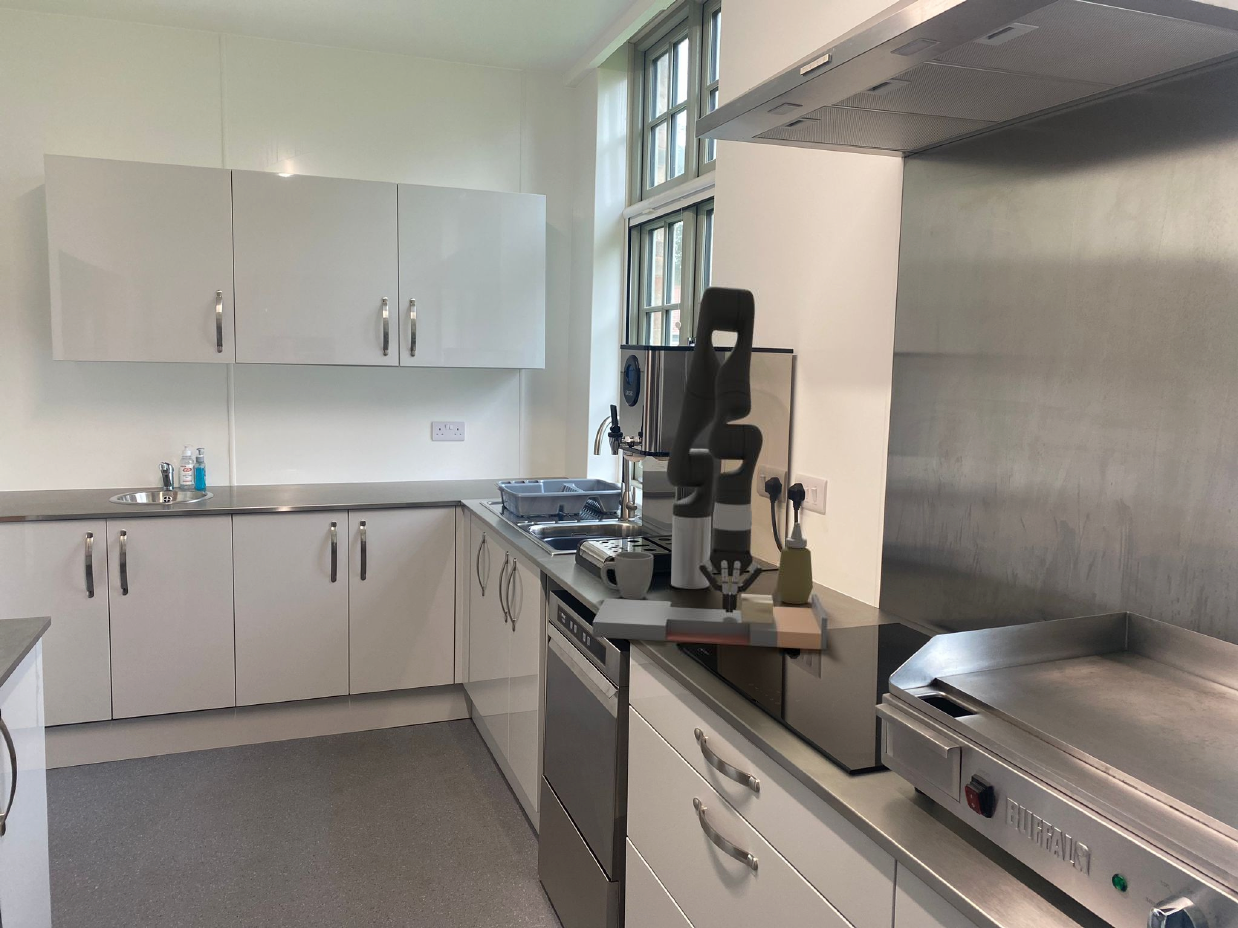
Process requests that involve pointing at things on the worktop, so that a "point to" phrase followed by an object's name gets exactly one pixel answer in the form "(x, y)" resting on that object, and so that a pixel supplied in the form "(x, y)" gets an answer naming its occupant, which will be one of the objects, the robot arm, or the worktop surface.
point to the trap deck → (710, 624)
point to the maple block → (756, 608)
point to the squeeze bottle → (795, 569)
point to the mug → (630, 573)
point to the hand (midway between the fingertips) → (729, 611)
